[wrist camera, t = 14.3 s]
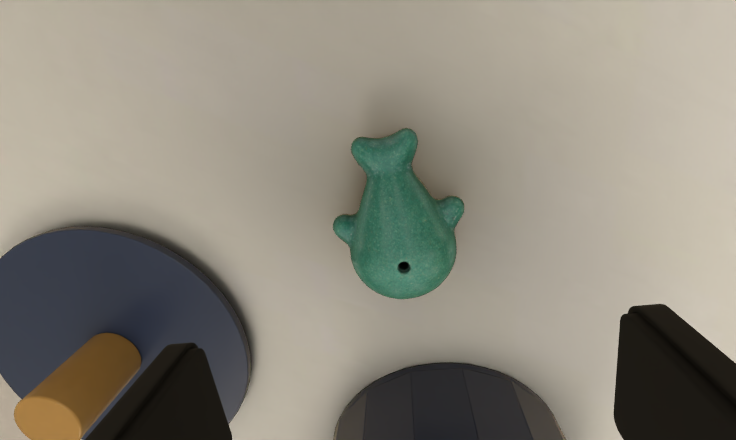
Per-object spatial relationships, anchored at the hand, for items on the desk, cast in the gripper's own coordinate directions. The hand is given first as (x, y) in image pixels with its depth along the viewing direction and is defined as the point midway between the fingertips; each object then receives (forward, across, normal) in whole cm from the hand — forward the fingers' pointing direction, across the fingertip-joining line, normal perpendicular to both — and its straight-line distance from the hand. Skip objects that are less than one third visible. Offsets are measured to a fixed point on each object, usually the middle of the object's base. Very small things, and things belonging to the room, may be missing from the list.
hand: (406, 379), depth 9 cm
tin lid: (+10, +16, +5) cm, 20 cm away
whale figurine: (+11, 0, -1) cm, 11 cm away
